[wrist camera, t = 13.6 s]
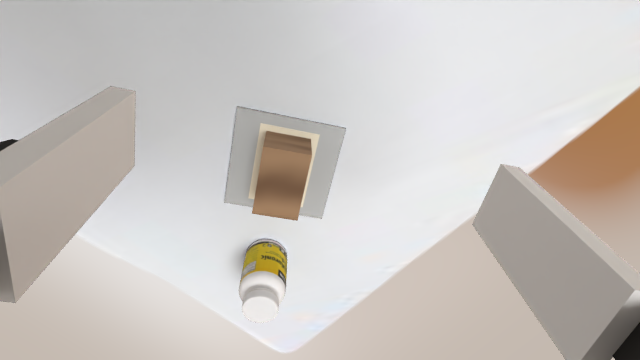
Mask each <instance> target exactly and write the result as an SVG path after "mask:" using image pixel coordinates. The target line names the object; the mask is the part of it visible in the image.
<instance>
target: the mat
mask: <svg viewBox="0 0 640 360" xmlns="http://www.w3.org/2000/svg"><path fill="white" fill-rule="evenodd" d="M266 131H271V132H276V133H282V134H287V135H293V136H298V137H303V138H309V139H311V146H312V158H311V163H310V167H309V171H308V176H307V180H306V185H305V189H304V193H303V198H302V202H301V207H300V211H299V215H302V216H308V217H314V218H320V219H322V216H323V212H324V209H325V205H326V201H327V198H328V194H329V190H330V186H331V183H332V179H333V175H334V172H335V168H336V164H337V160H338V157H339V153H340V149H341V146H342V142H343V138H344V134H345V131H346V128H343V127H338V126H333V125H328V124H323V123H318V122H313V121H308V120H303V119H298V118H293V117H288V116H283V115H278V114H273V113H268V112H263V111H258V110H253V109H248V108H243V107H237V112H236V120H235V127H234V135H233V142H232V150H231V157H230V165H229V172H228V180H227V187H226V194H225V202H224V203H230V204H236V205H242V206H248V207H253V204H254V198H255V192H256V186H257V180H258V174H259V168H260V161H261V155H262V149H263V144H264V139H265V135H266Z"/></svg>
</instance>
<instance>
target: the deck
mask: <svg viewBox="0 0 640 360" xmlns="http://www.w3.org/2000/svg"><path fill="white" fill-rule="evenodd" d="M311 158H312V146H311V139H309V138H303V137H298V136H293V135H287V134H282V133H276V132H271V131H266V135H265V139H264V144H263V149H262V155H261V161H260V168H259V174H258V180H257V186H256V192H255V198H254V204H253V211H252V214H259V215H265V216H271V217H278V218H284V219H291V220H298V216H299V211H300V207H301V202H302V198H303V193H304V189H305V185H306V180H307V176H308V171H309V167H310V163H311Z"/></svg>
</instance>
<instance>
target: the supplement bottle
mask: <svg viewBox="0 0 640 360" xmlns="http://www.w3.org/2000/svg"><path fill="white" fill-rule="evenodd" d="M286 274H287V253H286V250H285V249H284V247H283V246H282V245H281V244H279V243H278V242H276V241H273V240H268V239H264V240H259V241H256V242H254V243H253V244H252V245H251V246H250V247H249V248H248V250H247V252H246V255H245V260H244V266H243V271H242V276H241V281H240V286H239V295H240V298H241V300H242V301H243V304H242V312H243V315H244V316H245V317H246V318H247V319H248V320H250V321H252V322H255V323H266V322H269V321H271V320H273V319H274V318H275V317H276V316H277V314H278V309H279V304H280V303H281V302H282V300H283V299H284V296H285V292H286Z"/></svg>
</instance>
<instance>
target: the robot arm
mask: <svg viewBox="0 0 640 360" xmlns="http://www.w3.org/2000/svg"><path fill="white" fill-rule="evenodd" d="M134 163H135V91H132V90H127V89H122V88H117V87H112V86H111V87H109V88H107V89H105V90H104V91H102V92H100V93H99V94H97V95H95V96H93V97H92V98H90V99H88V100H87V101H85V102H83V103H82V104H80V105H78V106H76V107H75V108H73V109H71V110H70V111H68V112H66V113H65V114H63V115H61V116H59V117H58V118H56V119H54V120H53V121H51V122H49V123H48V124H46V125H44V126H42V127H41V128H39V129H37V130H36V131H34V132H32V133H31V134H29V135H27V136H25V137H24V138H22V139H20V140H13V139H11V140H7V141H3V142H0V301H3V302H12V303H16V302H17V301H18V300H19V298H20V297H21V296H22V295H23V294H24V293H25V291H26V290H27V289H28V288H29V287H30V286H31V285H32V283H33V282H34V281H35V280H36V279H37V278H38V277H39V275H40V274H41V273H42V272H43V270H45V268H46V267H47V266H48V265H49V264H50V262H52V260H53V259H54V258H55V257H56V256H57V255H58V253H59V252H60V251H61V250H62V249H63V248H64V247H65V245H66V244H67V243H68V242H69V241H70V240H71V238H72V237H73V236H74V235H75V234H76V233H77V232H78V230H79V229H80V228H81V227H82V226H83V225H84V224H85V222H86V221H87V220H88V219H89V218H90V217H91V215H92V214H93V213H94V212H95V211H96V210H97V209H98V207H99V206H100V205H101V204H102V203H103V202H104V200H105V199H106V198H107V197H108V196H109V195H110V194H111V192H112V191H113V190H114V189H115V188H116V187H117V185H118V184H119V183H120V182H121V181H122V180H123V179H124V177H125V176H126V175H127V174H128V173H129V172H130V170H131V169H132V168H133V167H134ZM472 225H473V226H474V227H475V229H476V231H477V232H478V234H479V235H480V237H481V238H482V239H483V241H484V242H485V244H486V245H487V247H488V248H489V249H490V251H491V253H492V254H493V255H494V257H495V258H496V260H497V261H498V263H499V264H500V265H501V267H502V268H503V270H504V271H505V273H506V274H507V276H508V277H509V279H510V280H511V281H512V283H513V284H514V286H515V287H516V289H517V290H518V292H519V293H520V294H521V296H522V297H523V299H524V300H525V302H526V303H527V305H528V306H529V308H530V309H531V311H532V312H533V313H534V315H535V316H536V318H537V319H538V321H539V322H540V324H541V325H542V326H543V328H544V329H545V331H546V332H547V333H548V335H549V337H550V338H551V339H552V341H553V342H554V344H555V345H556V347H557V348H558V350H559V351H560V353H561V354H562V355H563V357H564V358H565V360H611V359H612V357H614V358H615V360H640V273H639V272H638V271H637V270H636V269H634V268H633V267H632V266H631V265H630V264H629V263H628V262H626V261H625V260H624V259H623V258H622V257H621V256H620V255H618V254H617V253H616V252H615V251H614V250H613V249H611V247H609V246H608V245H607V244H606V243H605V242H604V241H603V240H601V239H600V238H599V237H598V236H597V235H595V233H593V232H592V231H591V230H590V229H589V228H588V227H587V226H585V225H584V224H583V223H582V222H581V221H580V220H579V219H577V218H576V217H575V216H574V215H573V214H572V213H571V212H569V211H568V210H567V209H566V208H565V207H564V206H563V205H561V204H560V203H559V202H558V201H557V200H556V199H554V197H552V196H551V195H550V194H549V193H548V192H547V191H545V190H544V189H543V188H542V187H541V186H540V185H539V184H537V183H536V182H535V181H534V180H533V179H532V178H531V177H530V176H528V175H527V174H526V173H525V172H524V171H523V170H522V169H520V168H519V167H514V166H509V165H504V164H501V165H500V167H499V169H498V171H497V173H496V175H495V178H494V180H493V182H492V184H491V186H490V188H489V190H488V192H487V194H486V196H485V198H484V201H483V203H482V205H481V207H480V209H479V211H478V213H477V215H476V217H475V219H474V222H473V224H472Z"/></svg>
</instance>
